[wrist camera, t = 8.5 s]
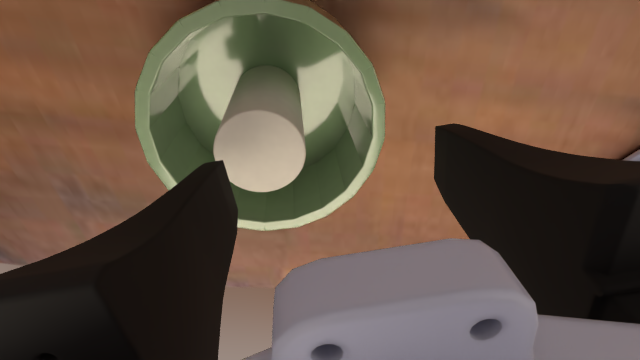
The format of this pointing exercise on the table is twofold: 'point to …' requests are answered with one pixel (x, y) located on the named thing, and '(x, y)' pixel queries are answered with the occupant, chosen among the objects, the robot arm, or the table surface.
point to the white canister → (262, 131)
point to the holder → (219, 84)
